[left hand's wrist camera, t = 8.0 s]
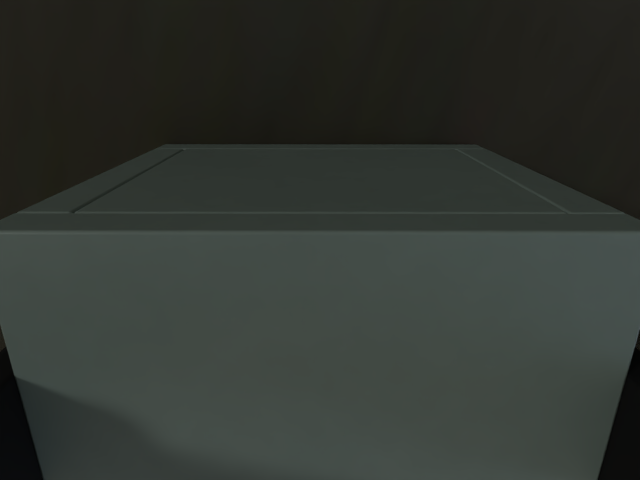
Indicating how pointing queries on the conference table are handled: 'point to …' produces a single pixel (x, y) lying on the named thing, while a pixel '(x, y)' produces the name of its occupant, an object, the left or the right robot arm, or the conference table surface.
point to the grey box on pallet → (320, 317)
